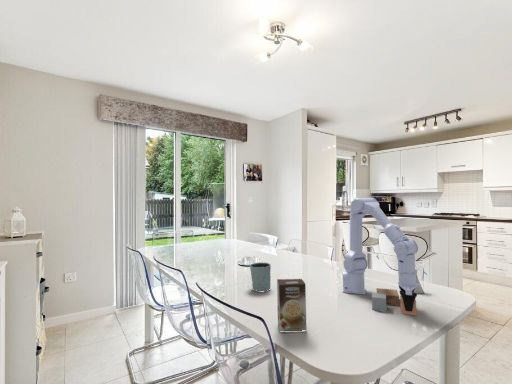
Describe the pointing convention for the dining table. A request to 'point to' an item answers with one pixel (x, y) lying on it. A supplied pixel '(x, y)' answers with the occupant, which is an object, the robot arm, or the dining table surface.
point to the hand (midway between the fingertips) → (408, 307)
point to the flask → (419, 289)
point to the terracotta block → (405, 310)
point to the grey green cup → (260, 276)
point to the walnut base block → (390, 296)
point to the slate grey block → (379, 302)
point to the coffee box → (291, 304)
